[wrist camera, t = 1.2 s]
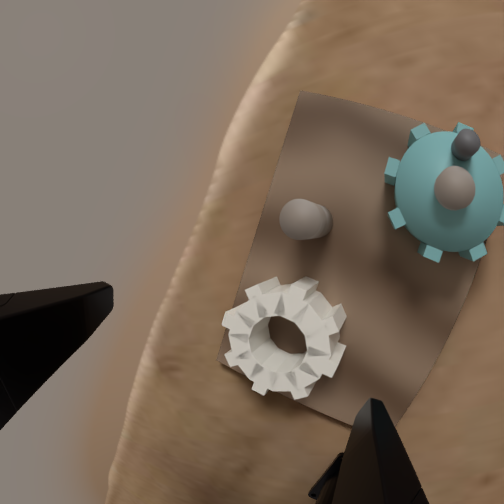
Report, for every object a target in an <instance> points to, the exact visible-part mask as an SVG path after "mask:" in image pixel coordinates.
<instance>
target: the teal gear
mask: <svg viewBox="0 0 504 504" xmlns="http://www.w3.org/2000/svg"><path fill="white" fill-rule="evenodd" d="M473 129H474V128H471V127H469V126H466V125H464V124H462V123H459V122H458V124H457V125H456V127H455V129H454V130H453V132H446V131H442V132H435V133H431V132H430V131H429V129H428V127H427V126H426V124H425V123H423V124H421V125H419V126H417V127H415V128H413V129H411V130H410V135H409V140H408V147H409V148H408V150H407V151H406V153H405V154H404V156H403V158H402V160H401V162H400V160H397V159H394V158H391V157H389V158H388V162H387V166H386V169H385V173H384V178H385V183H388V184H390V185H393V186H394V185H395V189H394V199H395V205H396V209H394V210H392V211H390V212H388V217H389V219H390V221H391V224H392V226H393V228H394V229H397V228H399V227H401V226H403V225H404V226H405V228H406V229H407V230H408V231H409V232H410V234H411V235H413V236H414V237H415V238H416V239H417V240H419V241H420V242H422V243H420V245H419V248H418V251H417V252H418V253H419V254H421V255H422V256H424V257H426V258H428V259H431V260H433V261H436V262H438V263H439V261H440V258H441V255H442V252H443V251H448V252H459V255H460V257H463V258H466V259H468V260H471V261H475V260H477V259H479V258H481V257H482V256H484V255H486V254H487V251H486V249H485V246H484V243H483V242H484V241H485V240H486V239H487V238H488V237H489V236H490V235H491V233H492V232H493V231H494V229H495V227H496V226H504V204H503V186H502V181H501V178H500V175H501V174H503V173H504V161H503V159H502V157H501V155H498V156H496V157H494V158H493V159H492V158H491V157H490V156H489V154H488V153H487V152H486V151H485V150H484V149H483V148H482V147H481V146H480V139H479V137H478V135H477V134H476V133H475V132H474V131H473ZM430 133H431V134H430ZM450 166H459V167H462V168H464V169H465V170H466V171H468V172H469V173H470V175H471V176H472V178H473V180H474V183H475V189H476V190H475V196H474V199H473V201H472V203H471V204H470V205H469V206H467V207H466V208H463V209H460V210H448V209H446V208H444V207H443V206H442V205H441V204H440V203H439V202H438V200H437V199H436V196H435V193H434V184H435V180H436V178H437V177H438V175H439V174H440V173H441V172H442V171H443V170H444V169H446V168H447V167H450ZM436 248H437V249H436ZM439 249H440V250H439ZM441 250H443V251H441Z"/></svg>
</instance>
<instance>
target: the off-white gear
mask: <svg viewBox="0 0 504 504" xmlns="http://www.w3.org/2000/svg"><path fill="white" fill-rule="evenodd" d="M318 283H319V281H316V280H314V279H312V278H309V277H307V276H305V277H303V278H302V279H300V280H298V281H296V282H294V283H292V284H286V285H280V283H279V280H278V278H277V277H274V278H272V279H269V280H267V281H264V282H262V283H259V284H257V285H255V286H252V287H250V288H248V289H246V290H245V292H246V294H247V296H248V299H250V300H248V301H247V302H245V303H243V304H241V305H239V306H237V307H235V308H233V309H231V310H229V311H226V312H225V315H224V318H223V322H222V325H223V326H224V327H226V328H228V329H230V331H229V334H228V335H229V340H230V345H231V350H230V351H228V352H227V353H225V354H224V355H225V357H226V359H227V361H228V364H229V366H230V367H232V366H236V365H238V366H239V367H240V368H241V369H242V371H243V372H244V373H245V375H246V376H247V377H248V378H249V380H251V381H253V382H254V384H253V386H252V390H254V391H256V392H258V393H260V394H262V395H265V394H266V393H267V392H268V391H269V390H271V391H291V394H292V396H293V398H294V400H296V399H300V398H304V397H308V396H309V394H310V392H311V390H312V388H313V387H314V385H315V383H316V381H317V380H318V379H320V377H321V375H322V374H324V375H326V376H329V377H331V378H332V376H333V375H334V373H335V371H336V369H337V367H338V365H339V362H340V360H341V357H342V355H343V353H344V350H345V348H346V345H343V344H341V343H339V342H338V341H339V338H340V334H339V331H340V329H341V327H342V325H343V323H344V321H345V319H346V317H347V316H346V314H345V311H344V309H343V306H342V304H339V305H336V306H334V307H332V306H331V305H330V304H329V302H328V301H327V300H326V298H325V297H324V296H323V295H322V293H321V292H318V291H316V289H317V286H318ZM271 316H281V317H284V318H286V319H288V320H290V321H292V322H295V324H296V325H297V326H298V327H299V329H300V330H301V331H302V333H303V334H304V335H305V340H306V347H307V351H306V352H305V353H299V354H289V353H287V352H285V351H283V350H281V349H279V348H278V347H277V346H276V345H275V343H274V342H273V341H272V339H271V338H270V334H269V328H268V323H269V321H270V318H271Z"/></svg>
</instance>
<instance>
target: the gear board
mask: <svg viewBox="0 0 504 504" xmlns="http://www.w3.org/2000/svg"><path fill="white" fill-rule="evenodd" d="M421 124H423V122H420V121H418V120H415V119H412V118H409V117H405V116H402V115H399V114H396V113H393V112H389V111H386V110H382V109H379V108H375V107H372V106H368V105H364V104H360V103H356V102H352V101H348V100H344V99H340V98H335V97H331V96H326V95H321V94H316V93H311V92H306V91H300V93H299V96H298V100H297V103H296V106H295V109H294V112H293V115H292V119H291V122H290V125H289V128H288V131H287V135H286V138H285V141H284V144H283V147H282V151H281V154H280V157H279V160H278V163H277V167H276V170H275V173H274V176H273V179H272V183H271V186H270V189H269V192H268V195H267V199H266V202H265V205H264V208H263V211H262V215H261V218H260V221H259V224H258V227H257V231H256V234H255V237H254V240H253V243H252V247H251V250H250V253H249V256H248V259H247V263H246V266H245V269H244V272H243V276H242V279H241V282H240V285H239V288H238V292H237V295H236V298H235V301H234V305H233V308H235V307H237V306H239V305H241V304H243V303H245V302H247V301H248V300H250V299H248V296H247V294H246V292H245V290H246V289H248V288H250V287H252V286H255V285H257V284H259V283H262V282H264V281H267V280H269V279H272V278H274V277H277V278H278V280H279V283H280V285H286V284H292V283H294V282H296V281H298V280H300V279H302V278H303V277H305V276H307V277H309V278H312V279H314V280H316V281H319V283H318V286H317V289H316V291H318V292H321V293H322V295H323V296H324V297H325V298H326V300H327V301H328V302H329V304H330V305H331V306H332V307H334V306H336V305H339V304H342V306H343V309H344V311H345V314H346V316H347V317H346V319H345V321H344V323H343V325H342V327H341V329H340V331H339V334H340V338H339V341H338V342H339V343H341V344H343V345H346V348H345V350H344V353H343V355H342V357H341V360H340V362H339V365H338V367H337V369H336V371H335V373H334V375H333V376H332V378H331V377H329V376H326V375H324V374H322V375H321V377H320V379H318V380H317V381H316V383H315V385H314V387H313V388H312V390H311V392H310V394H309V396H308V397H304V398H300V399H296V400H294V398H293V396H292V394H291V391H276V392H278V393H280V394H282V395H284V396H286V397H288V398H290V399H292V400H294V401H296V402H299V403H301V404H303V405H305V406H307V407H310V408H312V409H314V410H316V411H318V412H321V413H323V414H325V415H328V416H330V417H332V418H335V419H337V420H339V421H342V422H344V423H347V424H349V425H352V426H353V423H354V420H355V417H356V415H357V413H358V412H359V411H360V409H361V408H362V407H363V405H364V404H365V403H366V401H367V400H368V399H369V398H375V399H379V400H381V401H382V402H383V403H384V405H385V407H386V409H387V411H388V413H389V416H390V418H391V420H392V422H393V424H394V426H396V425H397V423H398V422H399V420H400V419H401V417H402V416H403V414H404V413H405V412H406V410H407V408H408V407H409V405H410V404H411V402H412V401H413V399H414V398H415V396H416V394H417V393H418V391H419V390H420V388H421V386H422V385H423V383H424V381H425V379H426V378H427V376H428V374H429V373H430V371H431V369H432V367H433V365H434V364H435V362H436V360H437V358H438V356H439V354H440V352H441V350H442V349H443V347H444V345H445V343H446V341H447V339H448V337H449V335H450V332H451V330H452V328H453V326H454V324H455V322H456V320H457V317H458V315H459V313H460V311H461V308H462V306H463V304H464V301H465V299H466V297H467V294H468V292H469V289H470V287H471V284H472V281H473V279H474V276H475V273H476V271H477V268H478V265H479V262H480V259H481V258H479V259H477V260H475V261H471V260H468V259H466V258H463V257H460V255H459V252H448V251H443V250H441V251H443V252H442V255H441V258H440V261H439V263H438V262H436V261H433V260H431V259H428V258H426V257H424V256H422V255H421V254H419V253H418V252H417V251H418V248H419V245H420V243H422V242H420V241H419V240H417V239H416V238H415V237H414V236H413V235H411V234H410V232H409V231H408V230H407V229H406V228H405V226H404V225H403V226H401V227H399V228H397V229H394V228H393V226H392V224H391V221H390V219H389V217H388V212H390V211H392V210H394V209H396V205H395V199H394V189H395V185H394V186H393V185H390V184H388V183H385V178H384V173H385V169H386V166H387V162H388V158H389V157H391V158H394V159H397V160H400V162H401V160H402V158H403V156H404V154H405V153H406V151H407V150H408V148H409V147H408V140H409V135H410V130H411V129H413V128H415V127H417V126H419V125H421ZM425 124H426V123H425ZM426 126H427V127H428V129H429V131H430V132H431V133H435V132H442V131H445V130H442V129H440V128H437V127H434V126H432V125H429V124H426ZM446 132H448V131H446ZM431 133H430V134H431ZM480 146H481V145H480ZM481 147H482V148H483V149H484V150H485V151H486V152H487V153H488V154H489V156H490V157H491V158H492V159H493V158H494V157H496V156H498V155H500V154H498V153H496V152H494V151H492V150H490V149H487V148H485V147H483V146H481ZM501 157H502V159H503V161H504V156H502V155H501ZM502 176H503V174H501V175H500V178H501V181H502ZM475 190H476V189H475V183H474V180H473V178H472V176H471V175H470V173H469V172H468V171H466V170H465V169H464V168H462V167H459V166H450V167H447V168H446V169H444V170H443V171H442V172H441V173H440V174H439V175H438V177H437V178H436V180H435V184H434V193H435V196H436V199H437V200H438V202H439V203H440V204H441V205H442V206H443V207H444V208H446V209H448V210H460V209H463V208H466V207H467V206H469V205H470V204H471V203H472V201H473V199H474V196H475ZM486 241H487V239H486V240H485V241H484V242H483V243H484V246H485V244H486ZM436 249H437V248H436ZM439 250H440V249H439ZM233 308H232V309H233ZM268 328H269V334H270V338H271V339H272V341H273V342H274V343H275V345H276V346H277V347H278V348H279V349H281V350H283V351H285V352H287V353H289V354H299V353H305V352H306V351H307V347H306V340H305V335H304V334H303V333H302V331H301V330H300V329H299V327H298V326H297V325H296V324H295V322H292V321H290V320H288V319H286V318H284V317H281V316H271V318H270V321H269V323H268ZM229 331H230V329H228V328H226V330H225V334H224V337H223V340H222V343H221V347H220V350H219V353H218V356H217V359H216V360H217V361H219V362H221V363H222V364H224V365H226V366H228V367H230V366H229V364H228V361H227V359H226V357H225V355H224V354H225V353H227V352H228V351H230V350H231V345H230V340H229V335H228V334H229ZM230 368H232V369H233V370H235V371H237V372H239V373H241V374H243V375H244V376H246V375H245V373H244V372H243V371H242V369H241V368H240V367H239V366H238V365H236V366H232V367H230ZM246 377H247V376H246Z"/></svg>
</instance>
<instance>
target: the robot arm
mask: <svg viewBox="0 0 504 504" xmlns="http://www.w3.org/2000/svg"><path fill="white" fill-rule="evenodd" d="M113 304H114V303H113V288H112V286H111V285H109V284H108V283H106V282H103V281H102V282H94V283H87V284H79V285H73V286H64V287H57V288H49V289H42V290H34V291H27V292H18V293H10V294H2V295H0V430H1V429H2V428H3V427H4V425H5V424H6V423H7V422H8V421H9V420H10V419H11V418H12V417H13V416H14V415H15V414H16V412H17V411H18V410H19V409H20V408H21V407H22V406H23V405H24V404H25V403H26V402H27V401H28V399H29V398H30V397H31V396H32V395H33V394H34V393H35V392H36V391H37V390H38V389H39V388H40V387H41V386H42V385H43V383H45V382H46V381H47V380H48V379H49V378H50V377H51V376H52V374H54V372H55V371H57V370H58V368H59V367H60V366H61V365H62V364H63V363H64V362H65V361H66V360H67V359H68V358H69V357H70V356H71V355H72V354H73V353H74V352H76V351H77V349H79V347H81V345H83V344H84V342H86V341H87V340H88V338H89V337H90V336H91V335H92V334H93V333H94V331H95V330H96V329H97V328H98V326H99V325H100V324H101V323H102V322H103V320H104V319H105V318H106V317H107V316H108V315H109V313H110V312H111V311H112V309H113ZM342 458H343V459H342ZM313 493H314V494H313ZM308 496H309V497H311V498H313V499H316V500H317V501H316V503H315V504H429V502H428V500H427V498H426V495H425V493H424V491H423V489H422V488H421V484H420V482H419V479H418V477H417V475H416V472H415V470H414V468H413V466H412V463H411V461H410V459H409V457H408V454H407V452H406V450H405V448H404V446H403V443H402V441H401V439H400V437H399V435H398V433H397V430H396V428H395V426H394V424H393V422H392V420H391V418H390V416H389V413H388V411H387V409H386V407H385V405H384V403H383V402H382V401H381V400H379V399H375V398H369V399H368V400H367V401H366V403H365V404H364V405H363V407H362V408H361V409H360V411H359V412H358V413H357V415H356V417H355V420H354V423H353V427H352V430H351V433H350V437H349V440H348V443H347V446H346V449H345V452H344V453H340V454H338V456H337V457H336V458H335V460H334V461H333V462H332V464H331V465H330V466H329V468H328V469H327V470H326V471H325V473H324V474H323V475H322V476H321V478H320V479H319V480H318V481H317V483H316V484H315V485H314V486H313V487H312V489H311V490H310V491H309V494H308Z"/></svg>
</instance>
